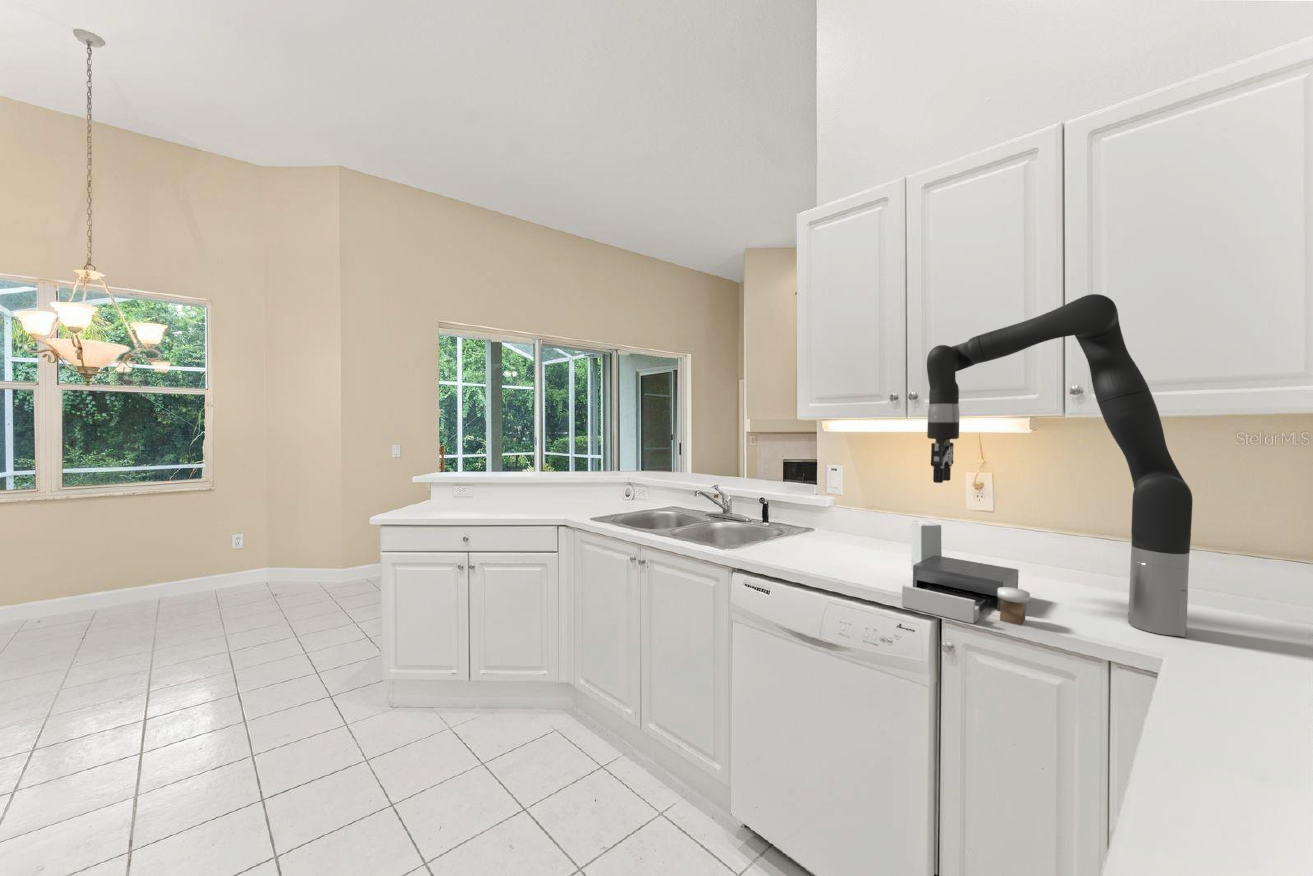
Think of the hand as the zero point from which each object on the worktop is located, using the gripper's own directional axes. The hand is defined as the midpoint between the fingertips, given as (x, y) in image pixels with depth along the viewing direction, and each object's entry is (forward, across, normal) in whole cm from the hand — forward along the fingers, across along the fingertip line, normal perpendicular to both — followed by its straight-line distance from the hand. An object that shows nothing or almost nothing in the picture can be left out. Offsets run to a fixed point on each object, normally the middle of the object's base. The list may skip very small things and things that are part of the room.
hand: (941, 481), depth 146 cm
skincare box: (+28, +11, +6) cm, 31 cm away
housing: (+28, -4, -7) cm, 29 cm away
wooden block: (+28, -18, -19) cm, 38 cm away
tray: (+28, -17, -6) cm, 33 cm away
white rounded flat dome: (+23, -18, -19) cm, 35 cm away
